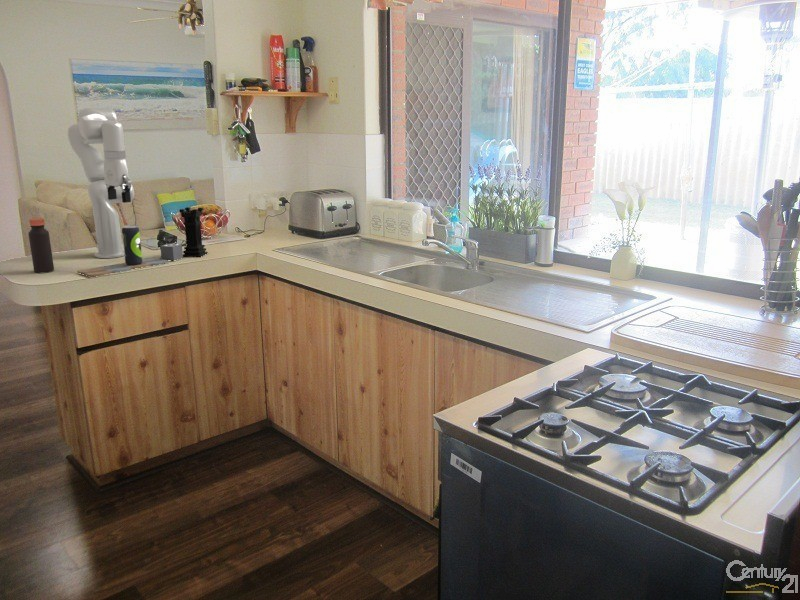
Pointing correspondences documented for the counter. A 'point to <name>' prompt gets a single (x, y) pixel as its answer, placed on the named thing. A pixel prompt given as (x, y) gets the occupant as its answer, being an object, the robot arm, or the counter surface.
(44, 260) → the bottle
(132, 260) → the beverage can
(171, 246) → the die
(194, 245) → the chess piece
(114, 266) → the board
